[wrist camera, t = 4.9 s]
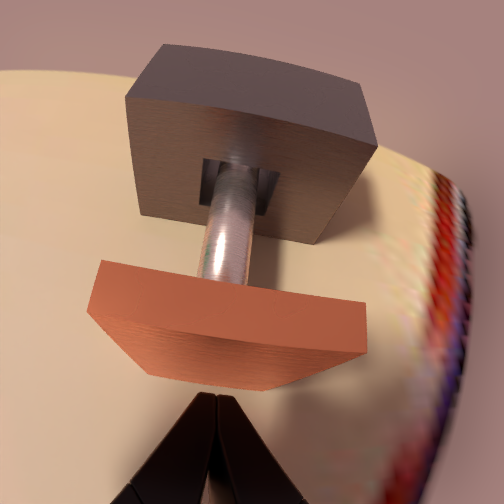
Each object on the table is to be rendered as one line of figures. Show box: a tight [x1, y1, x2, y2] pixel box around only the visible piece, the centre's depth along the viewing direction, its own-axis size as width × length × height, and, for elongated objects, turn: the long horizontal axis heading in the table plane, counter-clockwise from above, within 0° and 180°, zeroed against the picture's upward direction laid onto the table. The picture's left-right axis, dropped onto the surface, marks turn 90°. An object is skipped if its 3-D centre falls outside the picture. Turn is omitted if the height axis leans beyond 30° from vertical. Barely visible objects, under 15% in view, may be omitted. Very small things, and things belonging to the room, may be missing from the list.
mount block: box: [125, 44, 378, 245], centre depth 16 cm, size 5×10×8 cm, turn 85°
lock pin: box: [87, 161, 367, 391], centre depth 12 cm, size 13×5×9 cm, turn 175°
